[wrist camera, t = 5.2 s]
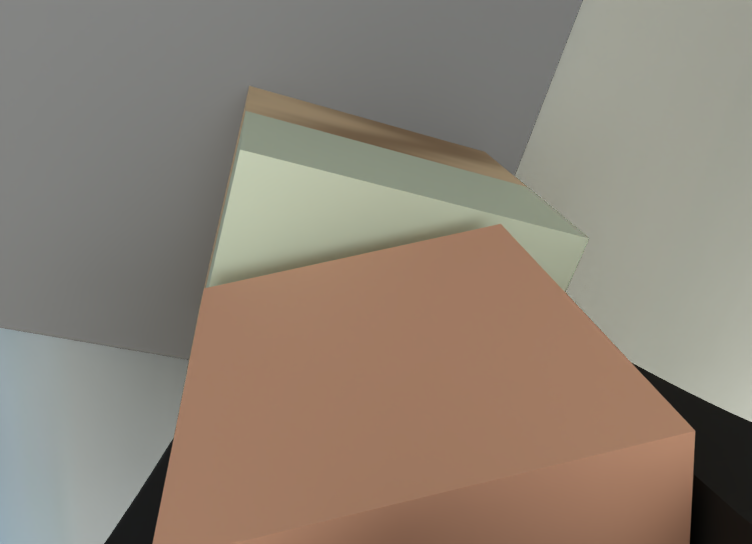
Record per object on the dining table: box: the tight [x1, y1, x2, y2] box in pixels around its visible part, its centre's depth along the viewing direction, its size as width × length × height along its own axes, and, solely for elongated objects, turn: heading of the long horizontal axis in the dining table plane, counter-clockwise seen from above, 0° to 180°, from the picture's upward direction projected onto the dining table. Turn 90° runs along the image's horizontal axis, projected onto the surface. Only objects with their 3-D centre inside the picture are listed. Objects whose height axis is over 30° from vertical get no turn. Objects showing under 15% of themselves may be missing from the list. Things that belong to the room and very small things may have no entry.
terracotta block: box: [153, 224, 695, 544], centre depth 8 cm, size 4×4×5 cm
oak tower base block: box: [187, 86, 527, 369], centre depth 16 cm, size 6×6×3 cm
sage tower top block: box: [174, 111, 589, 435], centre depth 13 cm, size 6×6×3 cm
